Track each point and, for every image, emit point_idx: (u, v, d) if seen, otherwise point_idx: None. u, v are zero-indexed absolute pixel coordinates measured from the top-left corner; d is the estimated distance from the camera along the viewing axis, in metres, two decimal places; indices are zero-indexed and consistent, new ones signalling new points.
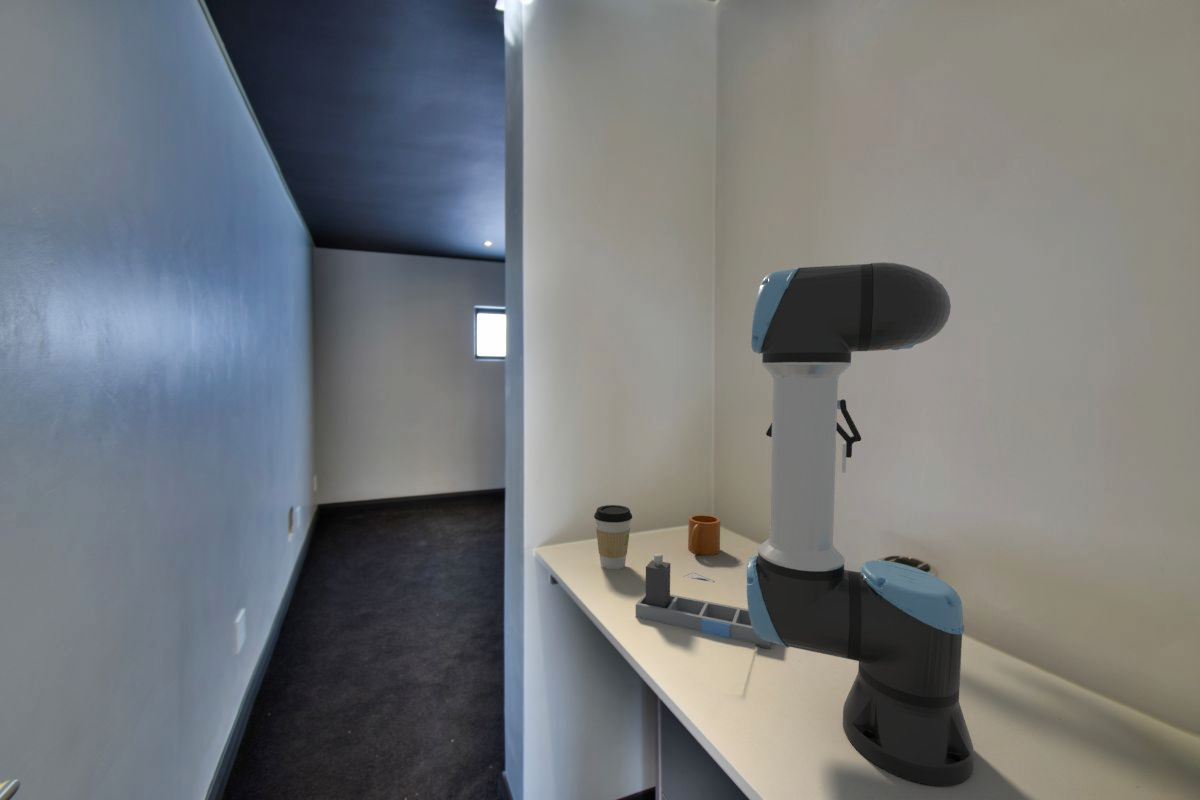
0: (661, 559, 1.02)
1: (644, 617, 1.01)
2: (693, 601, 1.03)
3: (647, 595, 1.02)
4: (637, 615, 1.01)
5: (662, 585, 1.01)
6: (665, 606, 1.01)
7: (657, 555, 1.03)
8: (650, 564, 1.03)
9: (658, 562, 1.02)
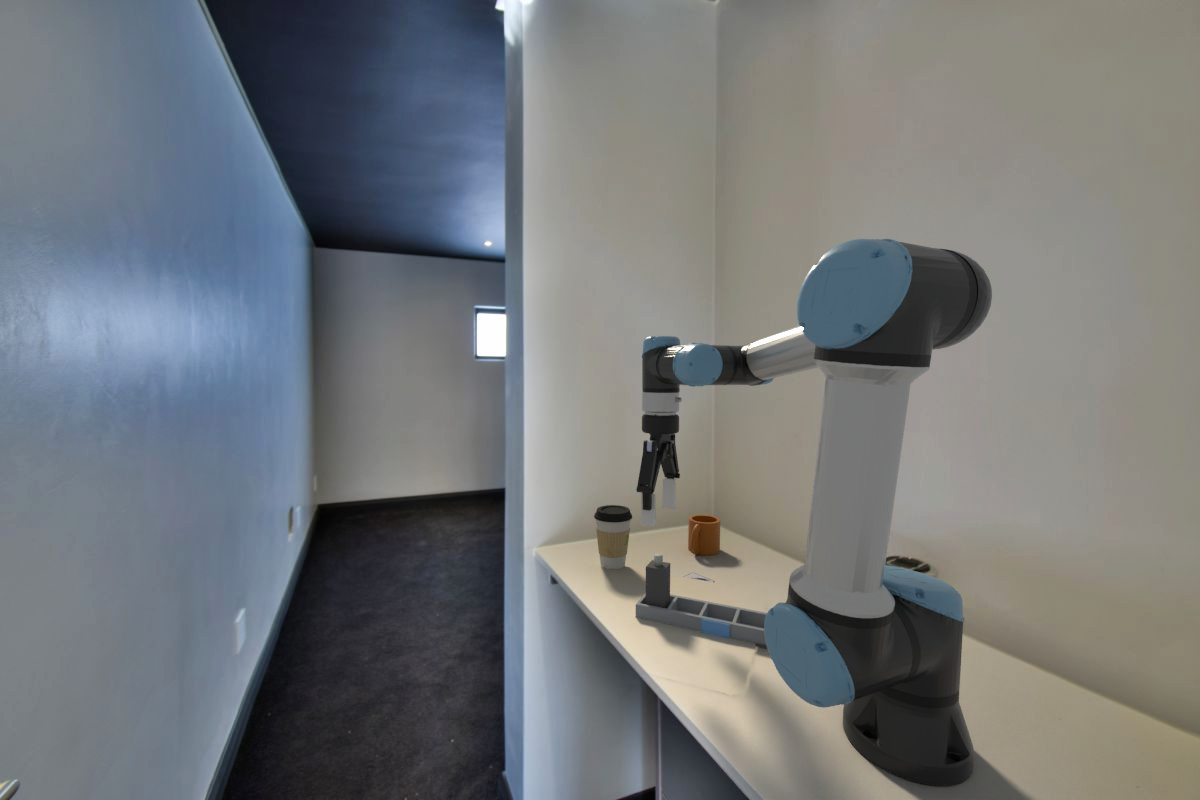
0: (661, 559, 1.02)
1: (644, 617, 1.01)
2: (693, 601, 1.03)
3: (647, 595, 1.02)
4: (637, 615, 1.01)
5: (662, 585, 1.01)
6: (665, 606, 1.01)
7: (657, 555, 1.03)
8: (650, 564, 1.03)
9: (658, 562, 1.02)
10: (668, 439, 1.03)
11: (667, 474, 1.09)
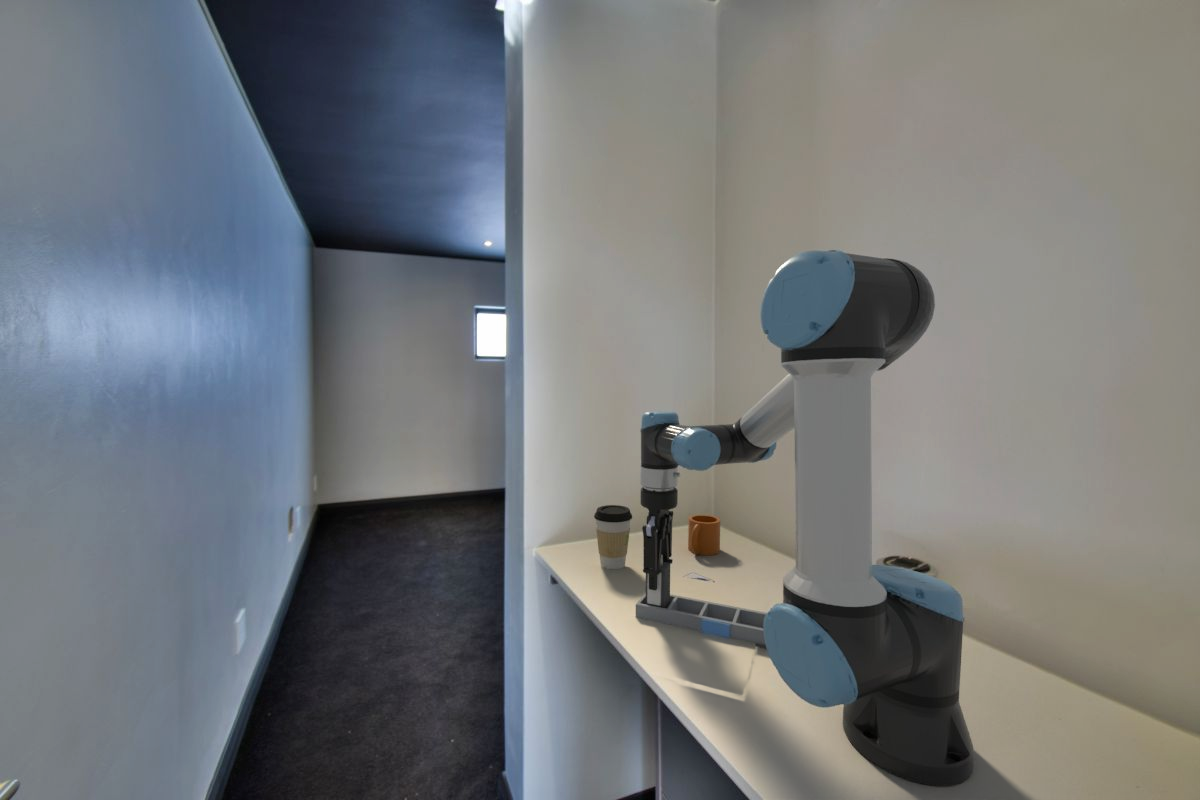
0: (661, 559, 1.02)
1: (644, 617, 1.01)
2: (693, 601, 1.03)
3: None
4: (637, 615, 1.01)
5: (662, 585, 1.01)
6: (665, 606, 1.01)
7: None
8: None
9: None
10: (667, 509, 1.04)
11: None
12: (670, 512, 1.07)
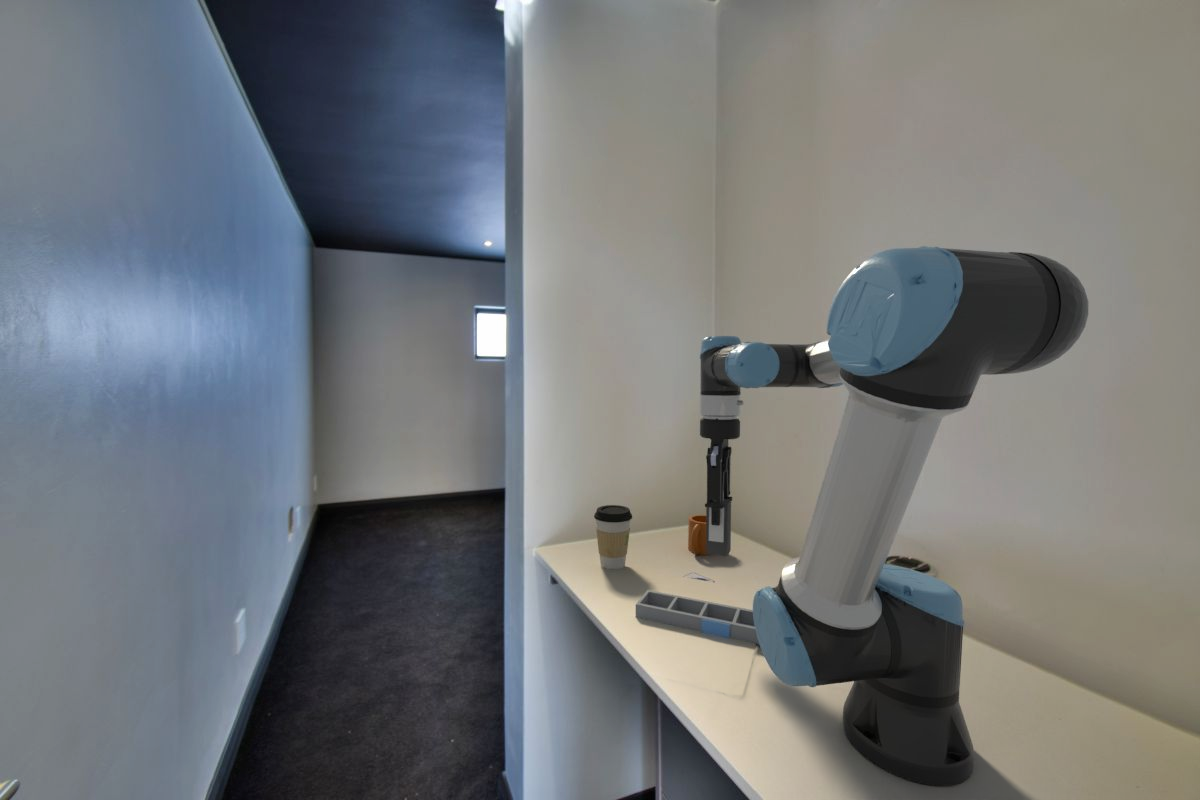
0: None
1: (644, 617, 1.01)
2: (693, 601, 1.03)
3: (708, 532, 0.96)
4: (637, 615, 1.01)
5: (725, 520, 0.94)
6: (728, 544, 0.95)
7: None
8: None
9: None
10: (727, 442, 0.98)
11: None
12: None
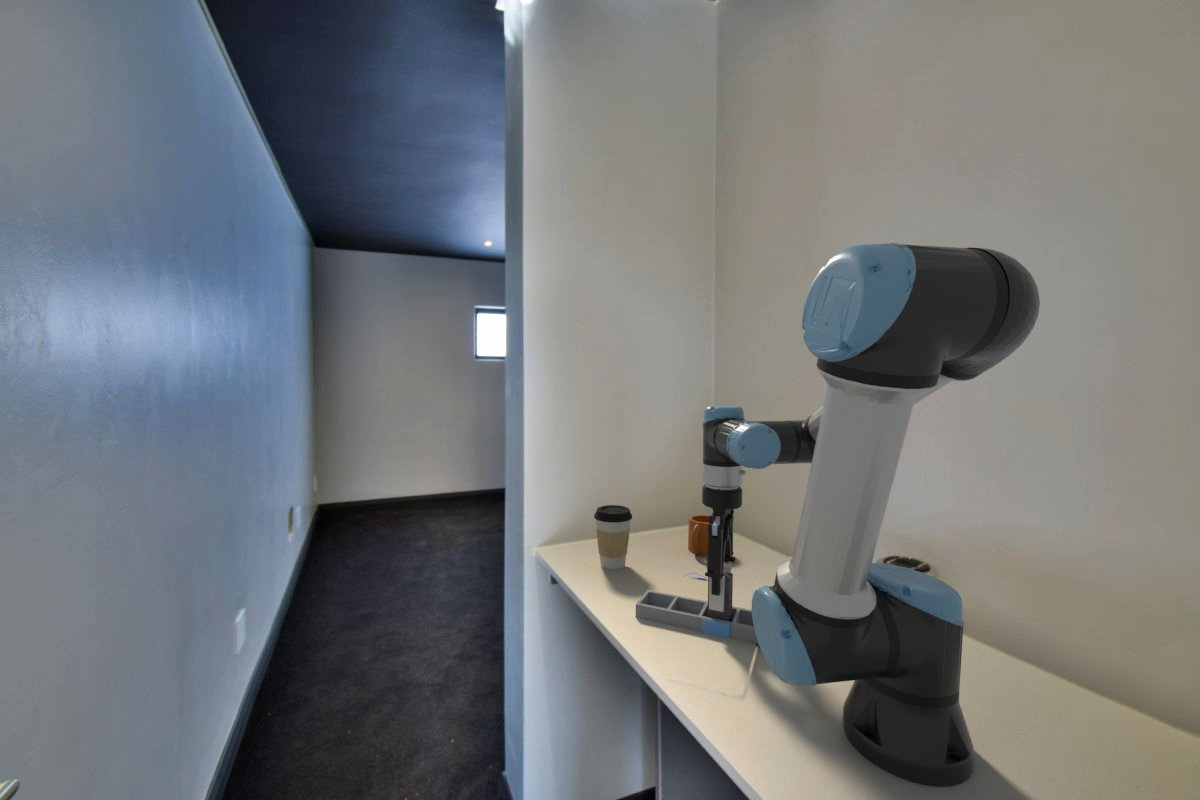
0: (724, 569, 0.97)
1: (644, 617, 1.01)
2: (693, 601, 1.03)
3: None
4: (637, 615, 1.01)
5: (726, 596, 0.95)
6: (729, 619, 0.96)
7: None
8: None
9: None
10: (729, 509, 0.99)
11: None
12: (731, 510, 1.02)
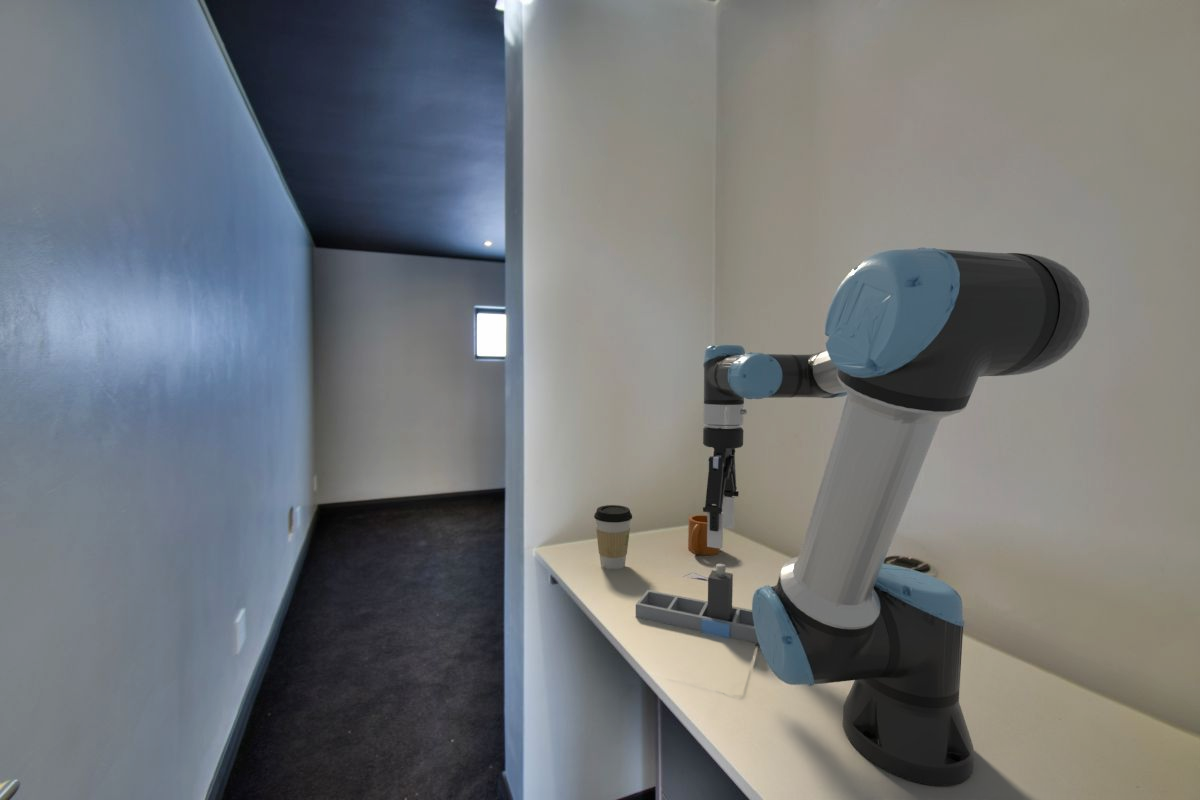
0: (724, 569, 0.97)
1: (644, 617, 1.01)
2: (693, 601, 1.03)
3: (709, 607, 0.97)
4: (637, 615, 1.01)
5: (726, 597, 0.95)
6: (729, 619, 0.96)
7: (719, 565, 0.97)
8: (712, 575, 0.98)
9: (721, 573, 0.97)
10: (730, 453, 0.98)
11: (725, 492, 1.03)
12: (732, 450, 1.01)
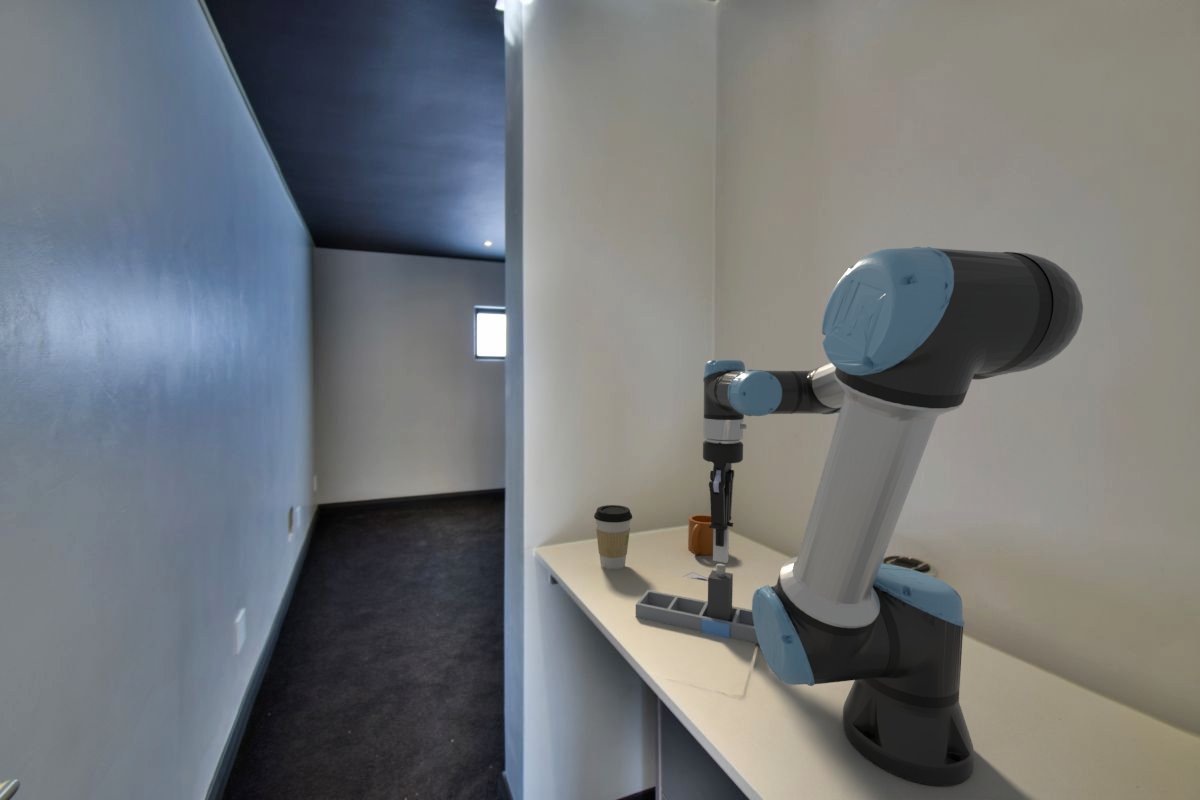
0: (724, 569, 0.97)
1: (644, 617, 1.01)
2: (693, 601, 1.03)
3: (709, 607, 0.97)
4: (637, 615, 1.01)
5: (726, 597, 0.95)
6: (729, 619, 0.96)
7: (719, 565, 0.97)
8: (712, 575, 0.98)
9: (721, 573, 0.97)
10: (730, 464, 0.98)
11: None
12: None
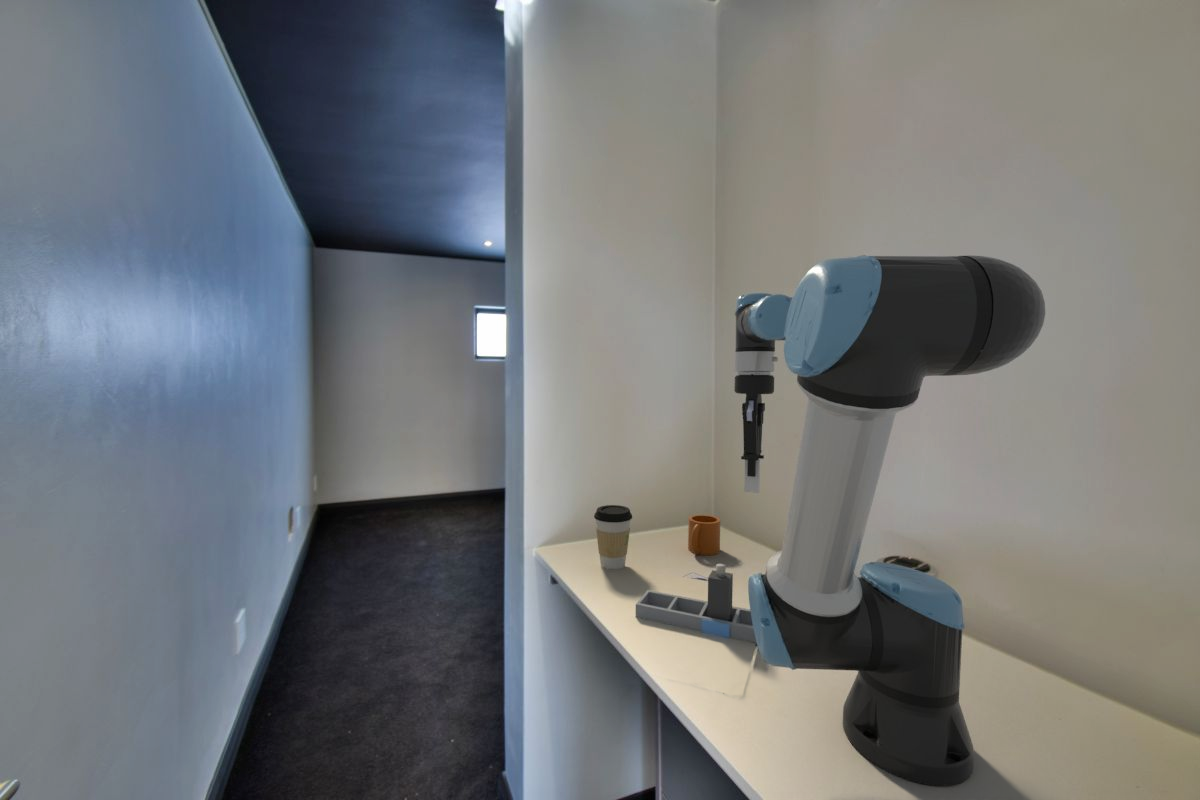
0: (724, 569, 0.97)
1: (644, 617, 1.01)
2: (693, 601, 1.03)
3: (709, 607, 0.97)
4: (637, 615, 1.01)
5: (726, 597, 0.95)
6: (729, 619, 0.96)
7: (719, 565, 0.97)
8: (712, 575, 0.98)
9: (721, 573, 0.97)
10: (761, 398, 1.01)
11: None
12: None
